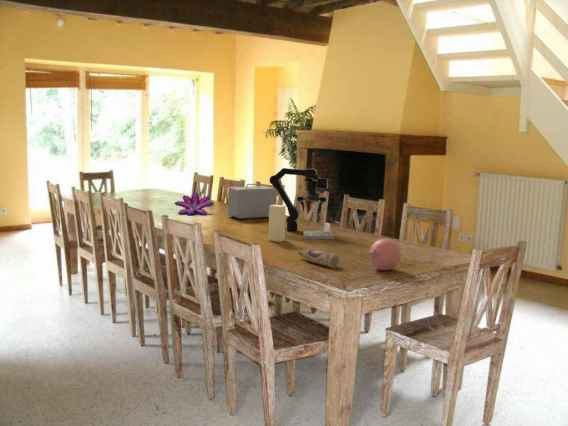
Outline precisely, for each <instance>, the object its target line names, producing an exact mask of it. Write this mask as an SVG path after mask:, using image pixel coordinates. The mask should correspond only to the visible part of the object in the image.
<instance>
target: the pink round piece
mask: <svg viewBox="0 0 568 426" xmlns="http://www.w3.org/2000/svg"><path fill="white" fill-rule="evenodd" d="M366 255H367V256H368V258H369V261H370V263H371V264H372V266H373V267H374V268H376V269H378V270H380V271H391V270H393V269H395V268H396V267H397V266H398V264H399V263H400V262H401V258H402V253H401V248H400V246H399V245H398V244H397V242H395V241H394V240H392V239H389V238H381V239H378V240H376V241H375V242H373V243H372V245H371V246H370V248H369V251H368V252H367V253H366Z"/></svg>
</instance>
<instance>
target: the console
mask: <svg viewBox="0 0 568 426" xmlns="http://www.w3.org/2000/svg"><path fill="white" fill-rule="evenodd" d="M323 232H324V230H302V235H303V239H304V240H334V239H335V236H334V234H333V232H332V231H331V230H330V233H323Z"/></svg>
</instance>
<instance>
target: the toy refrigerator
mask: <svg viewBox="0 0 568 426" xmlns="http://www.w3.org/2000/svg"><path fill="white" fill-rule="evenodd" d="M286 209H287V206H286V205H282V204H277V205H270V207H269V217H268V233H267V234H268V235H267V240H268V241H271V242H277V243H278V242H283V241H285V232H286V230H285V229H286V211H287V210H286Z"/></svg>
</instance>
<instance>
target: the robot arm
mask: <svg viewBox="0 0 568 426" xmlns="http://www.w3.org/2000/svg"><path fill="white" fill-rule="evenodd" d="M285 175H293V176H303V177H306V178H305V179H304V181H305V182H307V186H306V188H307V191H306V192H307V193H306V196H303V195H297V196H296V201H297V202H298V203H300V204H301V205H300V206H301V207H302V212H303V213H304V212H305V203H304V201H309V202H311V201H312V202H316V201H318V205H317V213H319V211H320V209H321V206H322V205H323V204H324V203H325V202H326V203H327V198H326V197H325V196H321V195H320V193H319V192H317V188H318V190H319V189H321V190H324V189H325V190H328V189H329V179H328V178H327V177H326V178H323V177H322V178H321V177H320V175H319V173H318V171H317V169H315V168H306V169H305V168H304V169H301V168H288V167H283V168H281V169H280V171H278V172H276V174H274V175H271V176H270V177H269V183H270V184H271V185H272V186H273V187H272V188H276V189H277V194H279V197H280V198H281V200H282V201H283V203H284V206H286V209H287V212H288V216H287V218H286V217H285V221H286V228H285V229H286V230H285V231H286V232H297V230H298V223H297V220H298V219H299V218H300V217H301V210H300V208H299V207H298V206H297V205H296V206H295V205H294V204H293V202H292V200H291V199H290V197H289V195H288V193H287V192H286V190H285V188H284V187H283V183H282V180H281V179H282V178H283V177H284V176H285Z"/></svg>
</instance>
